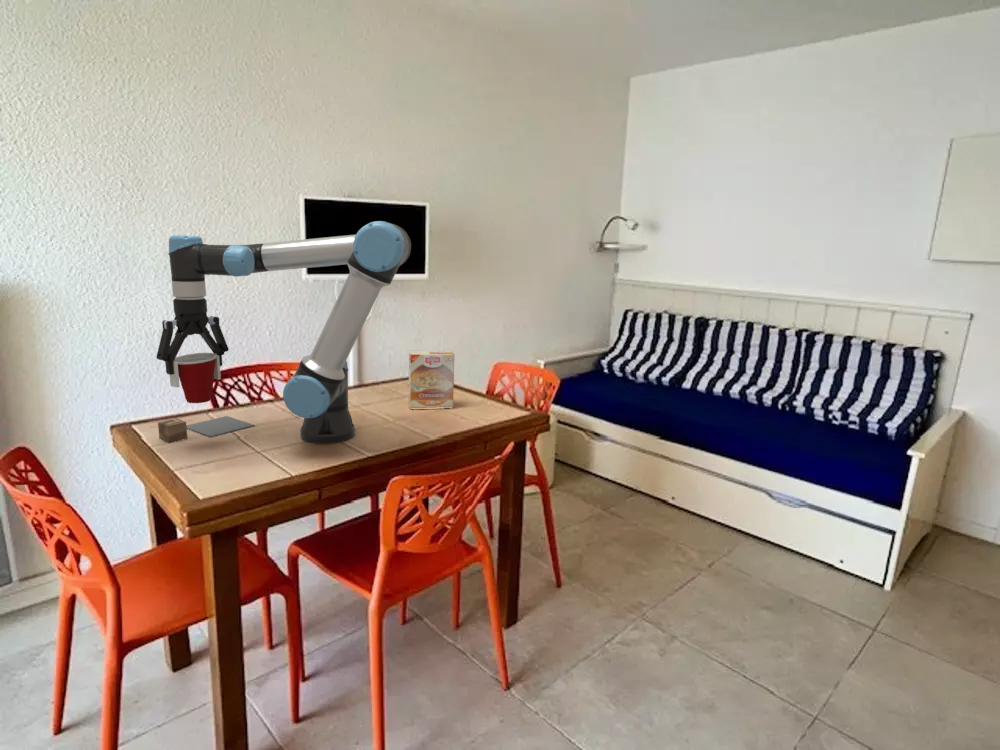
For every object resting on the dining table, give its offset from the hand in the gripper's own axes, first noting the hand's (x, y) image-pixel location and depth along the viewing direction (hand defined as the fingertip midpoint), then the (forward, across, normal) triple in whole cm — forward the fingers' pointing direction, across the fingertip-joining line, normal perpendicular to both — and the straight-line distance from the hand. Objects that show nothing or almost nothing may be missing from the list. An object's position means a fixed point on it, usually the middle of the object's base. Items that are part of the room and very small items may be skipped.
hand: (196, 382), depth 154 cm
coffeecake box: (+18, -70, +23) cm, 76 cm away
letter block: (+18, +1, -12) cm, 21 cm away
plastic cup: (+5, 0, 0) cm, 5 cm away
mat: (+18, -13, -12) cm, 25 cm away
